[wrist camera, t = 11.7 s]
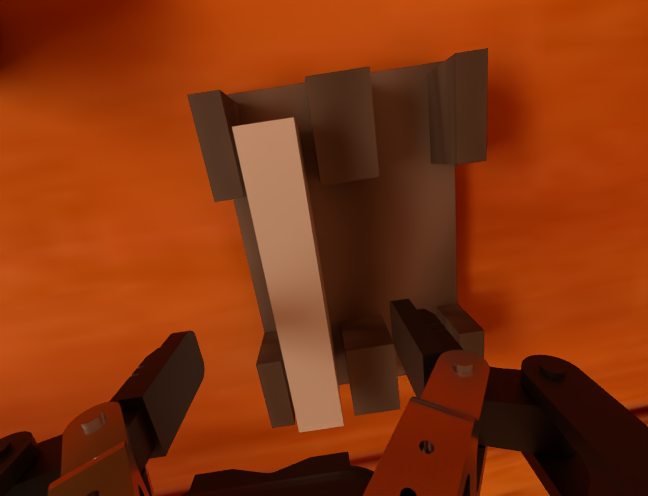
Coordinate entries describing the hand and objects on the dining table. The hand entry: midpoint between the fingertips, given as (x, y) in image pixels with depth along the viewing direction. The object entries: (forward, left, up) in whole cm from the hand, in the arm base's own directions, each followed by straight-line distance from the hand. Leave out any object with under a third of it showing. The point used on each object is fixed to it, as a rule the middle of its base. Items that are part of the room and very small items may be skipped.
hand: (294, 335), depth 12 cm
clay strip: (0, 0, -8) cm, 8 cm away
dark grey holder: (+4, 0, -10) cm, 10 cm away
